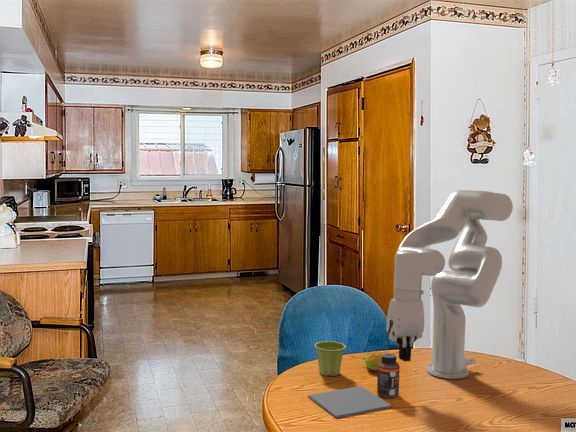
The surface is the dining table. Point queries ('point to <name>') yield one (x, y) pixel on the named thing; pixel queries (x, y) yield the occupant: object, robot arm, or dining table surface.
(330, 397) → the mat
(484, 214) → the robot arm
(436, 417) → the dining table surface
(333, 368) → the plant pot
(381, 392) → the supplement bottle
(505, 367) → the dining table surface
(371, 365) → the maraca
